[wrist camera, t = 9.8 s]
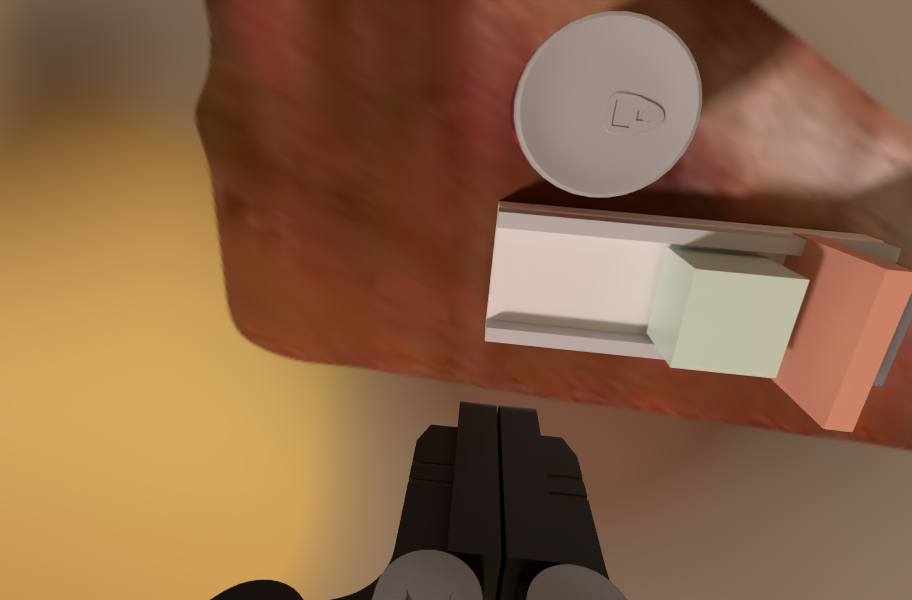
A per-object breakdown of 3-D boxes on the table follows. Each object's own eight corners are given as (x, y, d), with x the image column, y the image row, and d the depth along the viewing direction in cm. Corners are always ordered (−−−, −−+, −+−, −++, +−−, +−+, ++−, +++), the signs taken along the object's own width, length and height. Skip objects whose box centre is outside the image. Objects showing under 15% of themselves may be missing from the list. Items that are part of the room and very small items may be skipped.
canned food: (639, 163, 32) (705, 184, 22) (516, 182, 33) (525, 212, 23) (633, 32, 30) (705, -11, 20) (501, 58, 31) (503, 29, 21)
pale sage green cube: (646, 332, 34) (670, 367, 29) (666, 246, 32) (695, 269, 27) (736, 341, 33) (775, 378, 29) (763, 255, 31) (809, 279, 27)
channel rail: (485, 322, 37) (482, 391, 28) (498, 200, 34) (499, 233, 25) (817, 356, 36) (929, 440, 27) (862, 234, 33) (1007, 281, 23)
